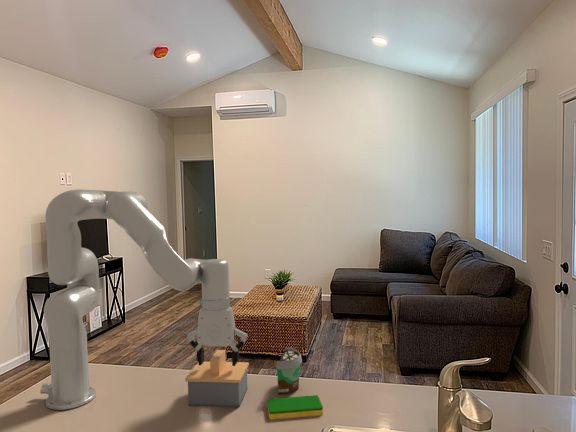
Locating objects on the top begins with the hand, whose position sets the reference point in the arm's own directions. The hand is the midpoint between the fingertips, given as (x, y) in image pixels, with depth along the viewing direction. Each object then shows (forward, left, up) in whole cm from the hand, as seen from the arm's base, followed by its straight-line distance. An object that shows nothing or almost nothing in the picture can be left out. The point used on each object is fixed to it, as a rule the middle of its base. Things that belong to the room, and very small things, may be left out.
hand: (218, 363), depth 121 cm
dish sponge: (+22, -6, -10) cm, 25 cm away
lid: (0, 0, -4) cm, 4 cm away
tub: (0, 0, -10) cm, 10 cm away
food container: (+20, +7, -10) cm, 23 cm away
